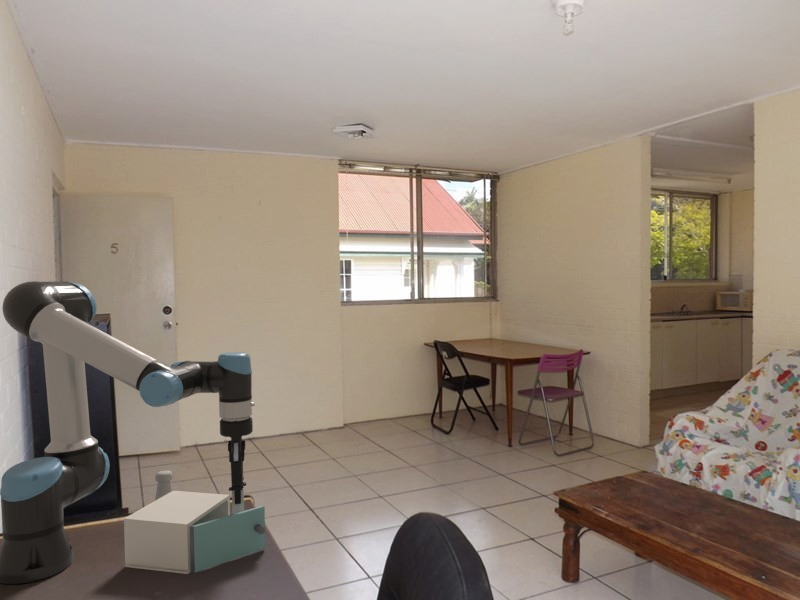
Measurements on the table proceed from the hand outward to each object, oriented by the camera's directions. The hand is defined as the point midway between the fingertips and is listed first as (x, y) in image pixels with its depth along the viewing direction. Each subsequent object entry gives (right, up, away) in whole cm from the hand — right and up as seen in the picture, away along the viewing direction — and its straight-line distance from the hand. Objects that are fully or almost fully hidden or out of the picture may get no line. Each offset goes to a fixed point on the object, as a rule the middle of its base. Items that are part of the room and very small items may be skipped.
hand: (238, 515), depth 138 cm
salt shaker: (-25, -8, +18) cm, 32 cm away
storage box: (-13, -8, -2) cm, 16 cm away
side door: (0, -8, -7) cm, 11 cm away
